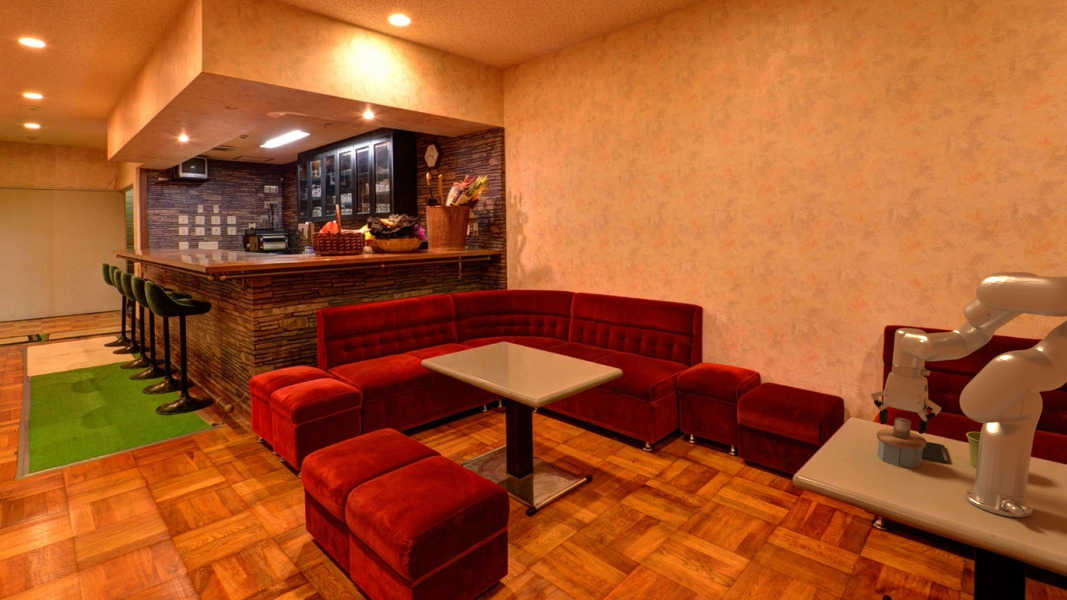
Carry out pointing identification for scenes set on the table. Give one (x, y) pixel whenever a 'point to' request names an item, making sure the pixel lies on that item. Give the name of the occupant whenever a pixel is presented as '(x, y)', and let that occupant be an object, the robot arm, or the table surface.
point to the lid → (901, 435)
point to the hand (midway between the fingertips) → (902, 427)
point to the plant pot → (973, 446)
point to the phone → (935, 453)
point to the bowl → (899, 455)
